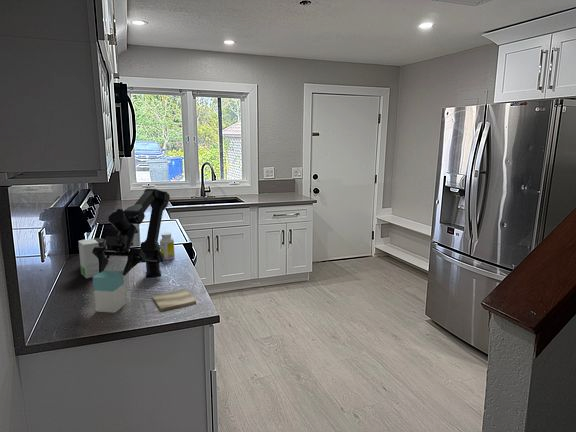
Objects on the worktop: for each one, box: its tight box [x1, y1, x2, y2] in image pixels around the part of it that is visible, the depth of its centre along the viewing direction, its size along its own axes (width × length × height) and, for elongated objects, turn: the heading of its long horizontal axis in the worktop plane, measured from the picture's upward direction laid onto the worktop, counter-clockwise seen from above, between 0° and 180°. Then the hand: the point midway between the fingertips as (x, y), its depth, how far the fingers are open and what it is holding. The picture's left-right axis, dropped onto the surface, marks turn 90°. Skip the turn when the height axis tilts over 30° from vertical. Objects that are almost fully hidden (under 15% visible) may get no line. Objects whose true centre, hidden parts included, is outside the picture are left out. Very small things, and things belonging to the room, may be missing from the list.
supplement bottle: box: [159, 232, 176, 261], centre depth 196 cm, size 7×7×13 cm
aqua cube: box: [92, 269, 125, 292], centre depth 139 cm, size 7×7×6 cm
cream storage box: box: [93, 283, 127, 313], centre depth 141 cm, size 7×7×8 cm
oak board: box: [152, 288, 197, 312], centre depth 147 cm, size 13×13×1 cm
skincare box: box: [78, 238, 99, 279], centre depth 173 cm, size 8×7×16 cm
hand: (111, 274), depth 141 cm, fingers open, 9 cm apart
